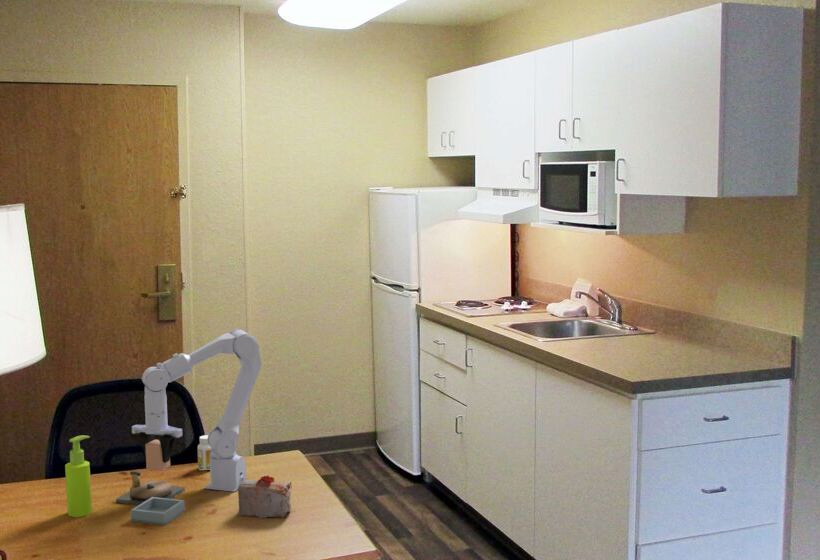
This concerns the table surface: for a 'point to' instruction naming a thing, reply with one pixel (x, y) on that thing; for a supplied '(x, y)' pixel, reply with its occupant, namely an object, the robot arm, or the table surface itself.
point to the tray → (158, 511)
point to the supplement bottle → (204, 453)
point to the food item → (264, 497)
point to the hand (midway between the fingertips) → (158, 460)
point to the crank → (148, 488)
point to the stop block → (155, 456)
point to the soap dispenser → (78, 481)
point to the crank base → (130, 500)
